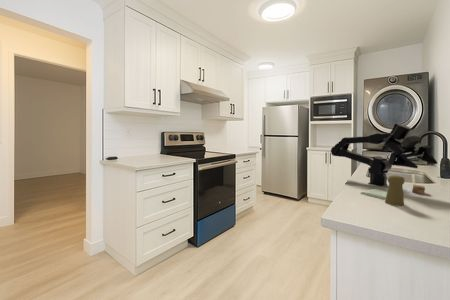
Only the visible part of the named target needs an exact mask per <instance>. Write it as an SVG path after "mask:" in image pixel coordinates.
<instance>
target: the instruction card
mask: <svg viewBox="0 0 450 300" xmlns="http://www.w3.org/2000/svg"><path fill="white" fill-rule="evenodd" d="M388 187H389V186H387V187H385V188H384V190H385V191H386V190H387V191H388ZM404 193H405V194H411V195H417V193H412V189H408V188H404V187H403V194H404Z"/></svg>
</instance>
